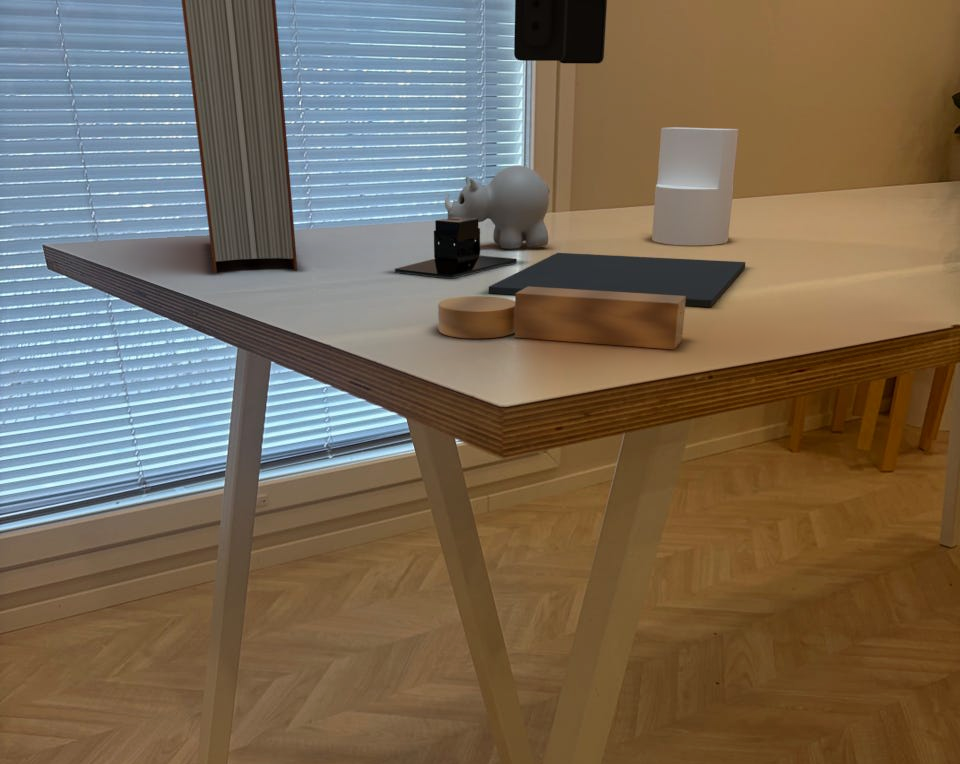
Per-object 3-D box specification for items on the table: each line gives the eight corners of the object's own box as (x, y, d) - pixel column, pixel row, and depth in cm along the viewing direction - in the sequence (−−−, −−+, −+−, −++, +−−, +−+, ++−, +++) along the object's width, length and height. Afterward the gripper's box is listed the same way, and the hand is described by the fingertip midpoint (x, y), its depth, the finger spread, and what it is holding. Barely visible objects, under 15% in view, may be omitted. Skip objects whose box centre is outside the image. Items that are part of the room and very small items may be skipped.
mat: (745, 268, 105) (745, 261, 105) (711, 307, 87) (711, 300, 86) (556, 258, 111) (557, 252, 111) (488, 293, 93) (488, 286, 92)
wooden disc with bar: (685, 336, 77) (689, 292, 75) (670, 354, 72) (674, 307, 70) (455, 320, 82) (455, 278, 81) (426, 335, 77) (425, 291, 76)
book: (297, 270, 104) (267, -89, 90) (214, 273, 103) (171, -92, 88) (279, 240, 124) (253, -59, 109) (210, 243, 122) (174, -61, 108)
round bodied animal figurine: (440, 244, 121) (439, 164, 117) (540, 241, 123) (542, 163, 118) (450, 253, 114) (448, 169, 110) (554, 249, 116) (557, 167, 112)
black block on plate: (462, 257, 112) (462, 212, 110) (519, 263, 109) (520, 216, 106) (393, 272, 103) (392, 222, 101) (453, 279, 100) (453, 227, 97)
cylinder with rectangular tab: (742, 239, 123) (754, 128, 118) (700, 247, 118) (711, 131, 112) (679, 233, 129) (688, 126, 123) (636, 240, 123) (643, 128, 117)
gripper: (600, -330, 52) (581, 59, 60) (666, -240, 66) (644, 64, 74) (461, -314, 54) (462, 59, 62) (554, -230, 68) (545, 64, 77)
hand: (561, 61), depth 68 cm, fingers open, 9 cm apart
